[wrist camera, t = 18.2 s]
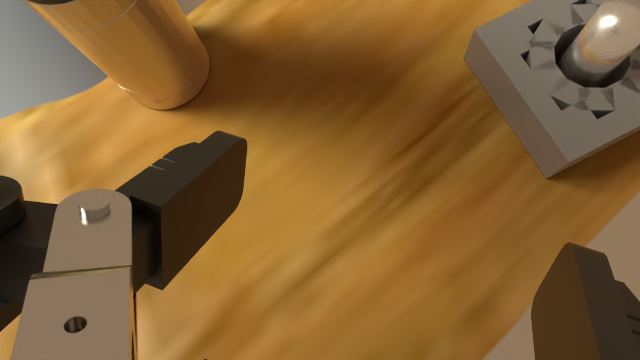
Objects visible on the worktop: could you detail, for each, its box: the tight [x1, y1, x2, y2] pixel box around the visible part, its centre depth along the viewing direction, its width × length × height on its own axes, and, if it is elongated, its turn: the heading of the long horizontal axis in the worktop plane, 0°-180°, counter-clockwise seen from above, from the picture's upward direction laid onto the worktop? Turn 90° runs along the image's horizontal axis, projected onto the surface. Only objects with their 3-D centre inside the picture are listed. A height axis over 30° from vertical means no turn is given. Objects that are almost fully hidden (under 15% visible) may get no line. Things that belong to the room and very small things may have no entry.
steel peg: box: [556, 0, 640, 88], centre depth 39 cm, size 4×4×11 cm
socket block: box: [464, 0, 640, 179], centre depth 42 cm, size 14×14×5 cm
